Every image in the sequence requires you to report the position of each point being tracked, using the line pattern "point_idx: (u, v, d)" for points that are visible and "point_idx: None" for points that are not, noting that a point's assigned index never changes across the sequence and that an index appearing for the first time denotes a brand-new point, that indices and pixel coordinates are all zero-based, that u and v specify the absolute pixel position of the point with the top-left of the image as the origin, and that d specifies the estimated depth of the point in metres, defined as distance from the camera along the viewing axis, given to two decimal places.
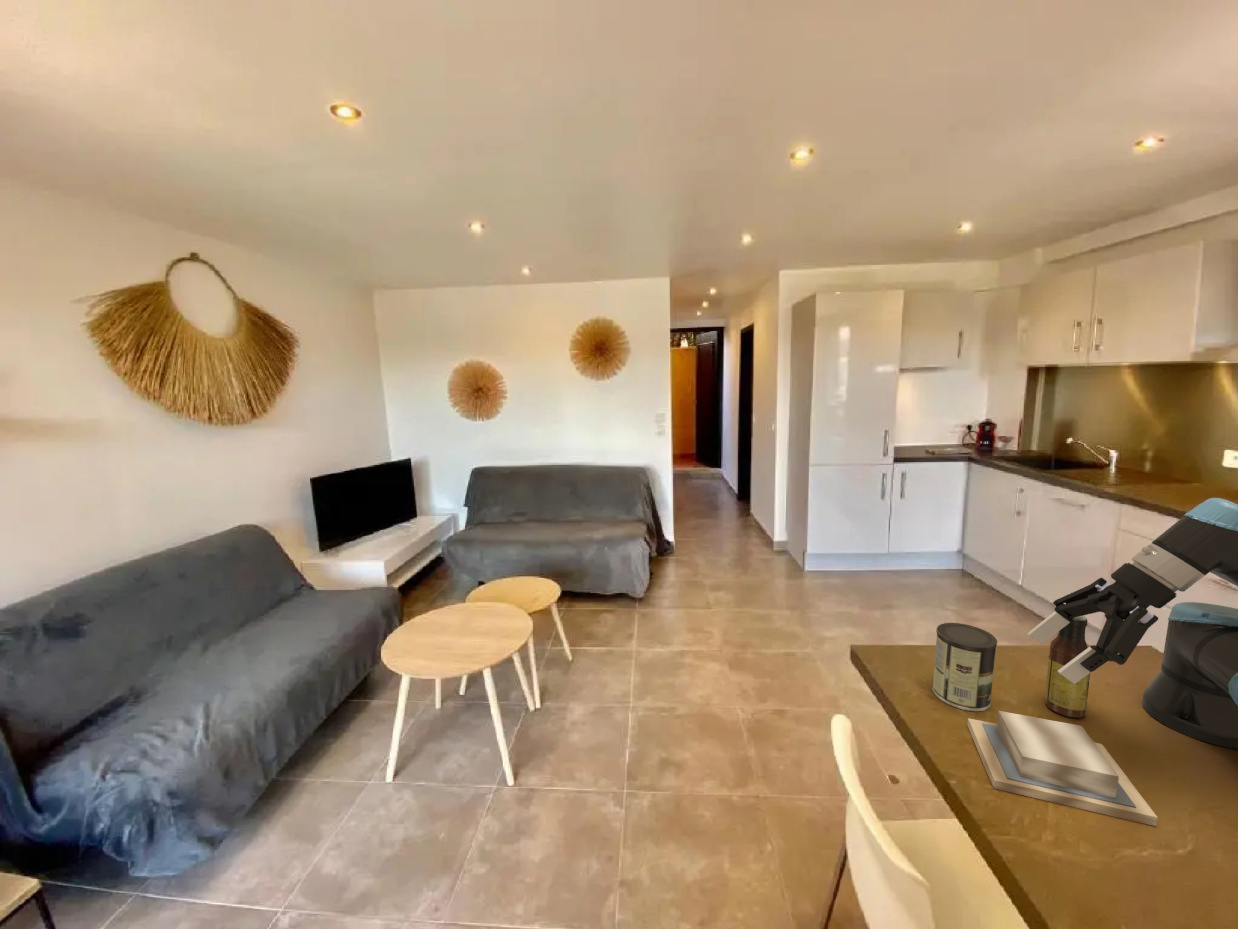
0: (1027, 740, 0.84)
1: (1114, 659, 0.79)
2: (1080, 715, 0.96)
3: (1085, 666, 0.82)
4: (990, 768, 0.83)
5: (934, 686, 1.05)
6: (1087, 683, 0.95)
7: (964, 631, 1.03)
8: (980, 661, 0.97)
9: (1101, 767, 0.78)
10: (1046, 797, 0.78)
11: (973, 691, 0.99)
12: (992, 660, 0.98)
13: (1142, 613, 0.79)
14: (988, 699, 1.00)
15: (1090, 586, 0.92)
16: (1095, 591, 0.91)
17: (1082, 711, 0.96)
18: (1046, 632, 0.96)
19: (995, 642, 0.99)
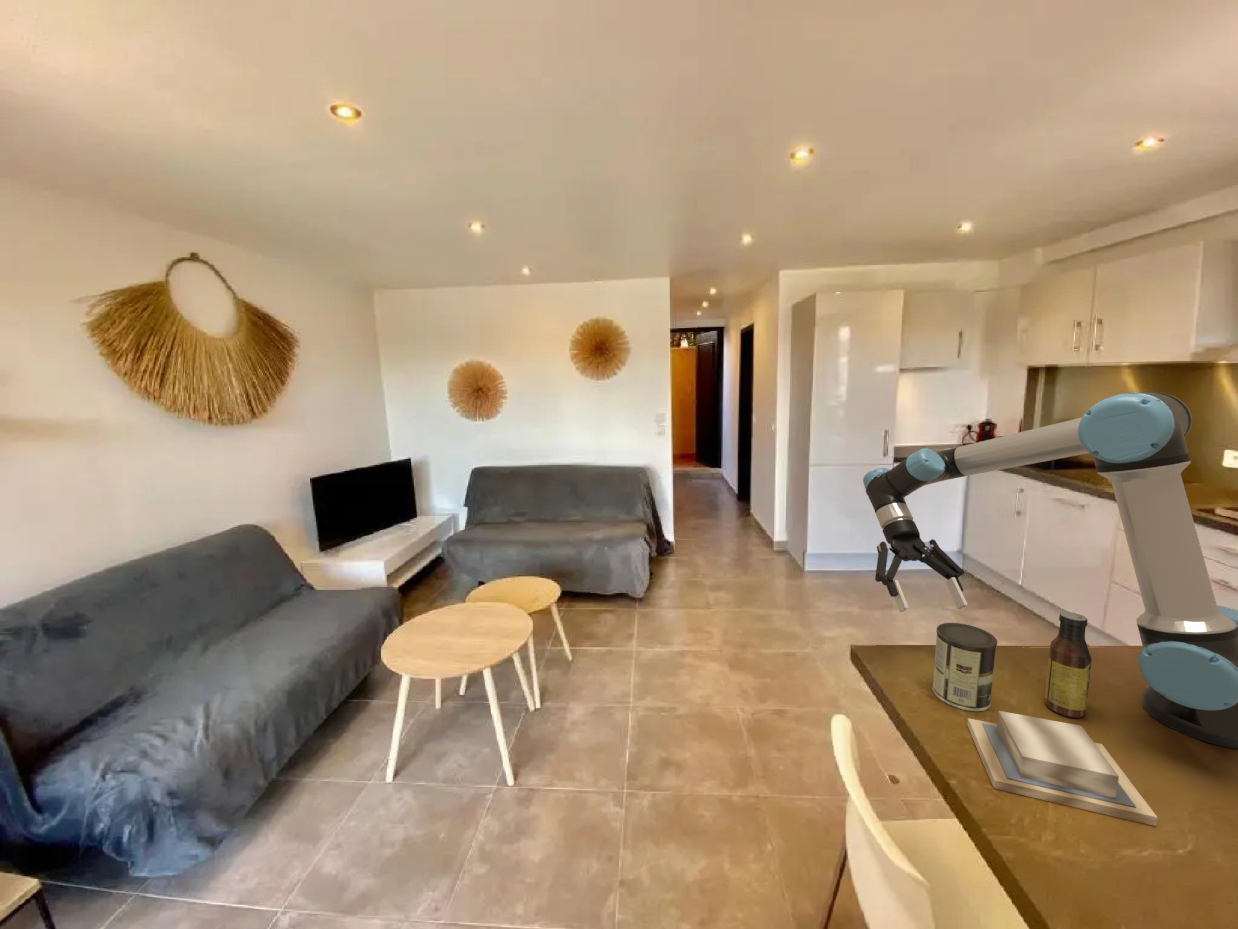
0: (1027, 740, 0.84)
1: (878, 578, 1.15)
2: (1080, 715, 0.96)
3: None
4: (990, 768, 0.83)
5: (934, 686, 1.05)
6: (1087, 683, 0.95)
7: (964, 631, 1.03)
8: (980, 661, 0.97)
9: (1101, 767, 0.78)
10: (1046, 797, 0.78)
11: (973, 691, 0.99)
12: (992, 660, 0.98)
13: (877, 548, 1.21)
14: (988, 699, 1.00)
15: None
16: (932, 552, 1.20)
17: (1082, 711, 0.96)
18: (956, 596, 1.13)
19: (995, 642, 0.99)
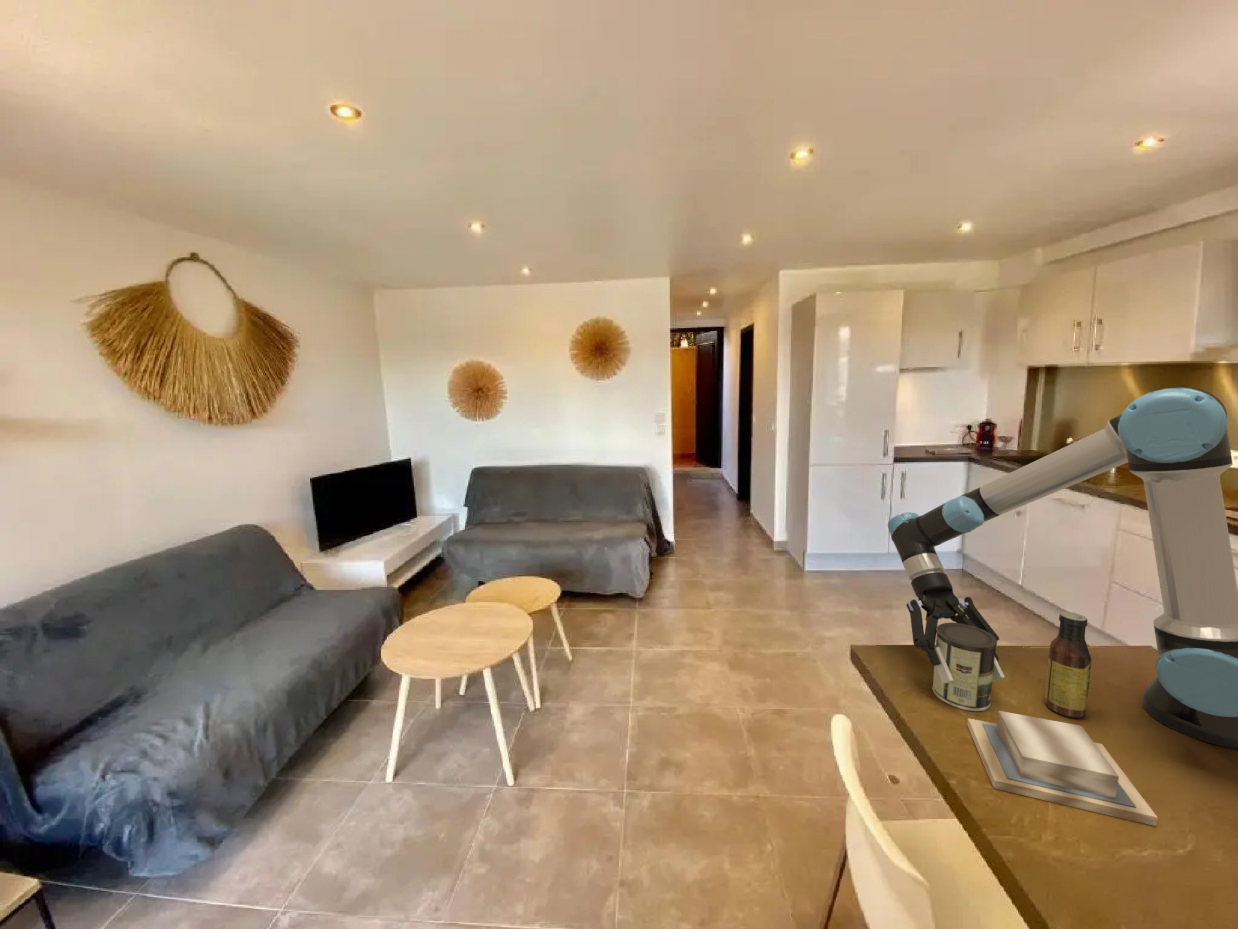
0: (1027, 740, 0.84)
1: (917, 645, 1.04)
2: (1080, 715, 0.96)
3: (932, 664, 1.03)
4: (990, 768, 0.83)
5: (934, 686, 1.05)
6: (1087, 683, 0.95)
7: (964, 631, 1.03)
8: (980, 661, 0.97)
9: (1101, 767, 0.78)
10: (1046, 797, 0.78)
11: (973, 691, 0.99)
12: (992, 660, 0.98)
13: (907, 607, 1.10)
14: (988, 699, 1.00)
15: None
16: (966, 610, 1.09)
17: (1082, 711, 0.96)
18: None
19: (995, 642, 0.98)
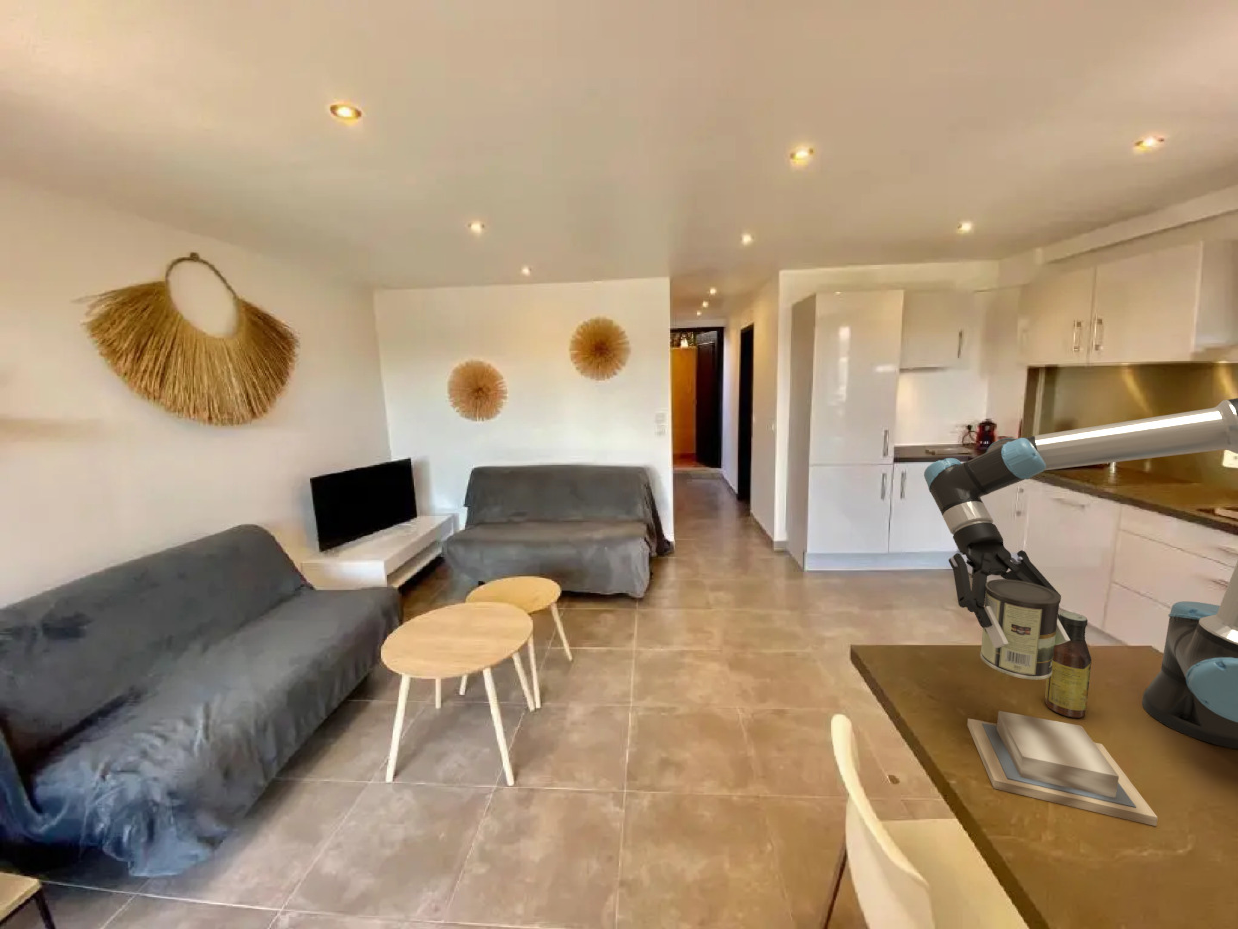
0: (1027, 740, 0.84)
1: (963, 604, 0.89)
2: (1080, 715, 0.96)
3: (981, 625, 0.88)
4: (990, 768, 0.83)
5: (983, 652, 0.90)
6: (1087, 683, 0.95)
7: (1019, 588, 0.88)
8: (1041, 620, 0.82)
9: (1101, 767, 0.78)
10: (1046, 797, 0.78)
11: (1032, 655, 0.84)
12: (1055, 619, 0.83)
13: (950, 562, 0.95)
14: (1050, 666, 0.84)
15: None
16: (1019, 566, 0.94)
17: (1082, 711, 0.96)
18: None
19: (1058, 598, 0.83)
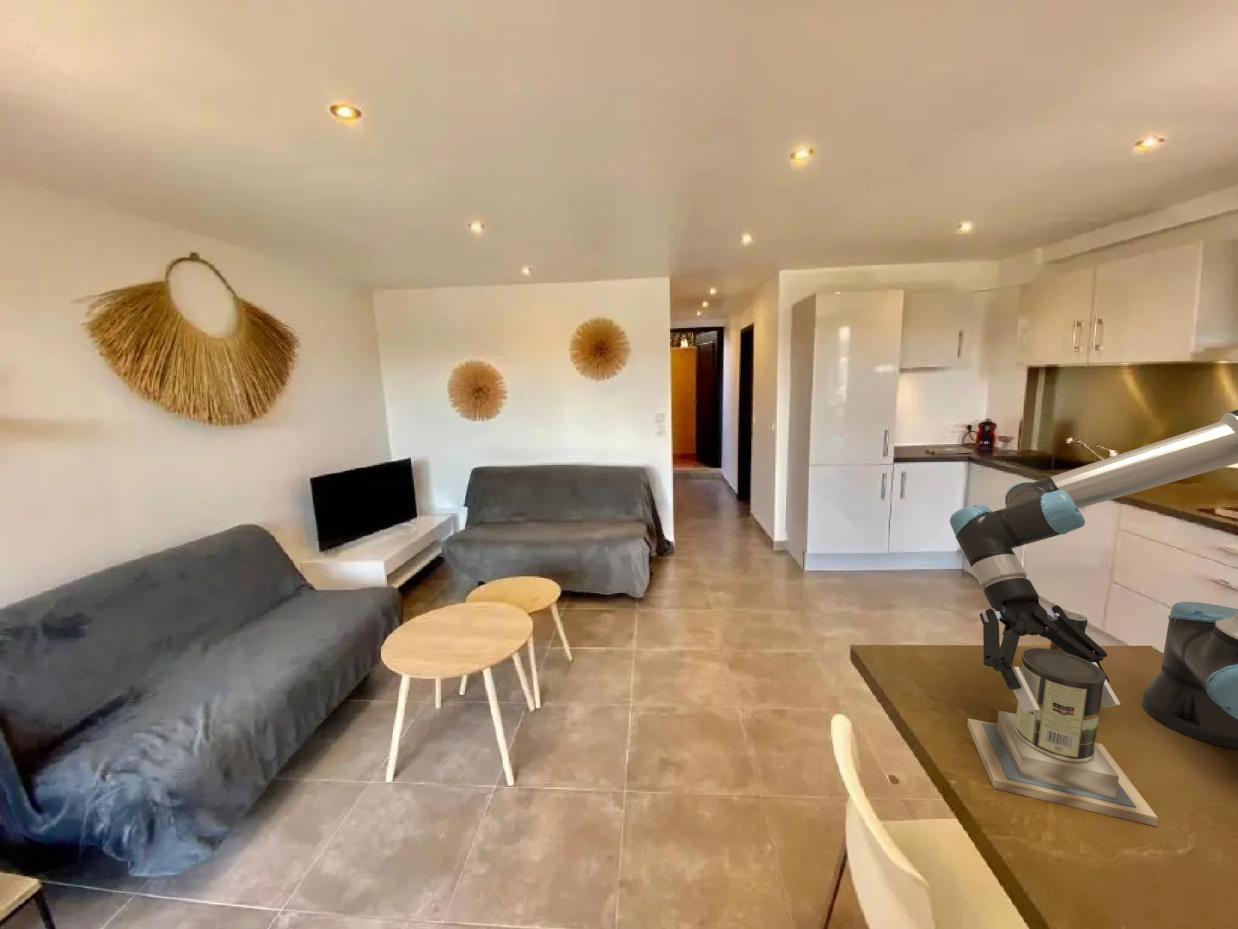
0: None
1: (989, 663, 0.84)
2: None
3: (1009, 687, 0.82)
4: (990, 768, 0.83)
5: (1018, 727, 0.85)
6: None
7: (1058, 660, 0.83)
8: (1085, 700, 0.77)
9: (1101, 767, 0.78)
10: (1046, 797, 0.78)
11: (1075, 737, 0.78)
12: (1100, 698, 0.78)
13: (981, 617, 0.89)
14: (1093, 747, 0.79)
15: None
16: (1056, 622, 0.89)
17: None
18: None
19: (1103, 676, 0.78)
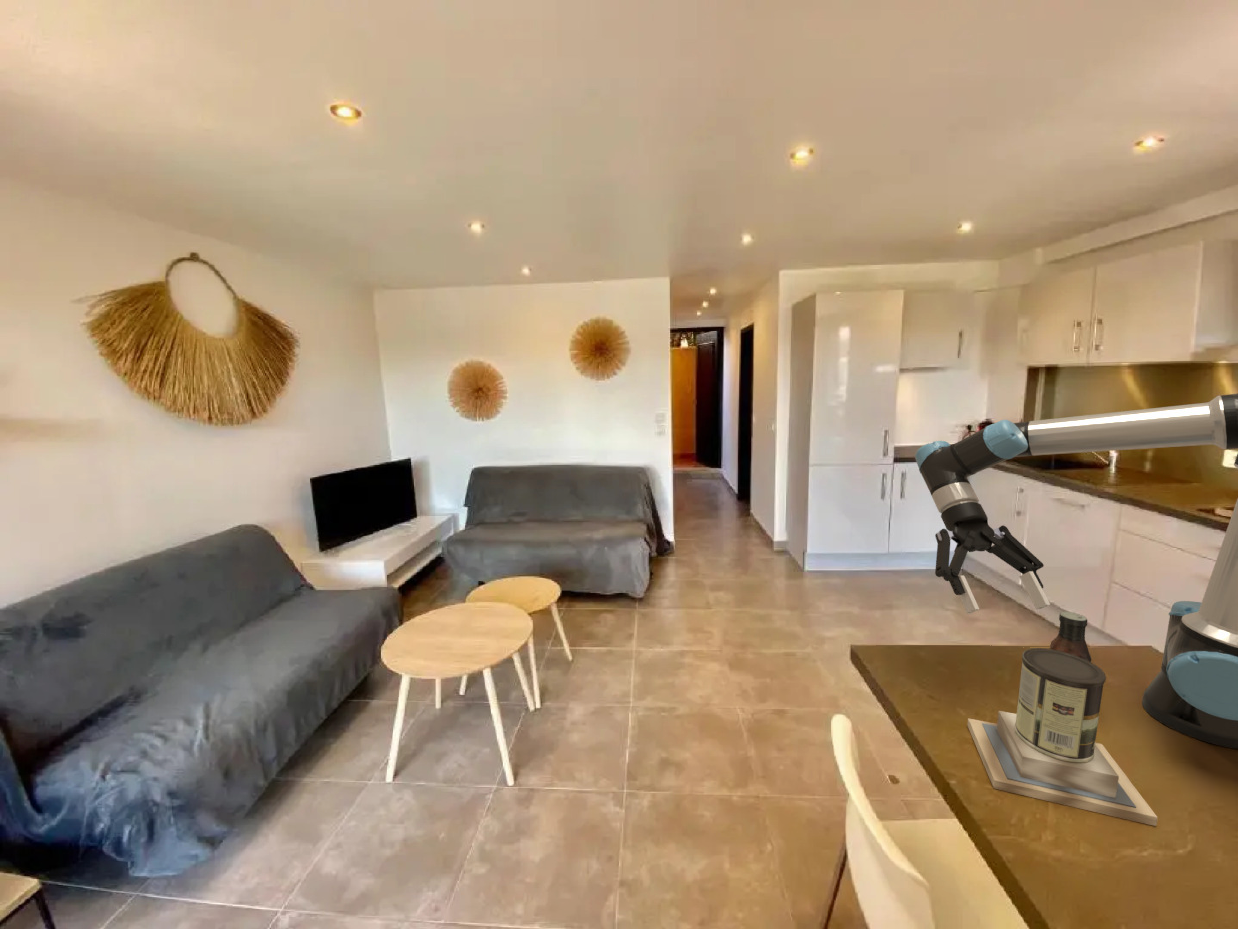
0: None
1: (940, 573, 0.96)
2: None
3: (955, 593, 0.95)
4: (990, 768, 0.83)
5: (1018, 727, 0.85)
6: None
7: (1058, 660, 0.83)
8: (1085, 700, 0.77)
9: (1101, 767, 0.78)
10: (1046, 797, 0.78)
11: (1075, 737, 0.78)
12: (1100, 699, 0.78)
13: (936, 536, 1.01)
14: (1093, 747, 0.79)
15: None
16: (1002, 540, 1.00)
17: None
18: (1035, 594, 0.94)
19: (1103, 676, 0.78)
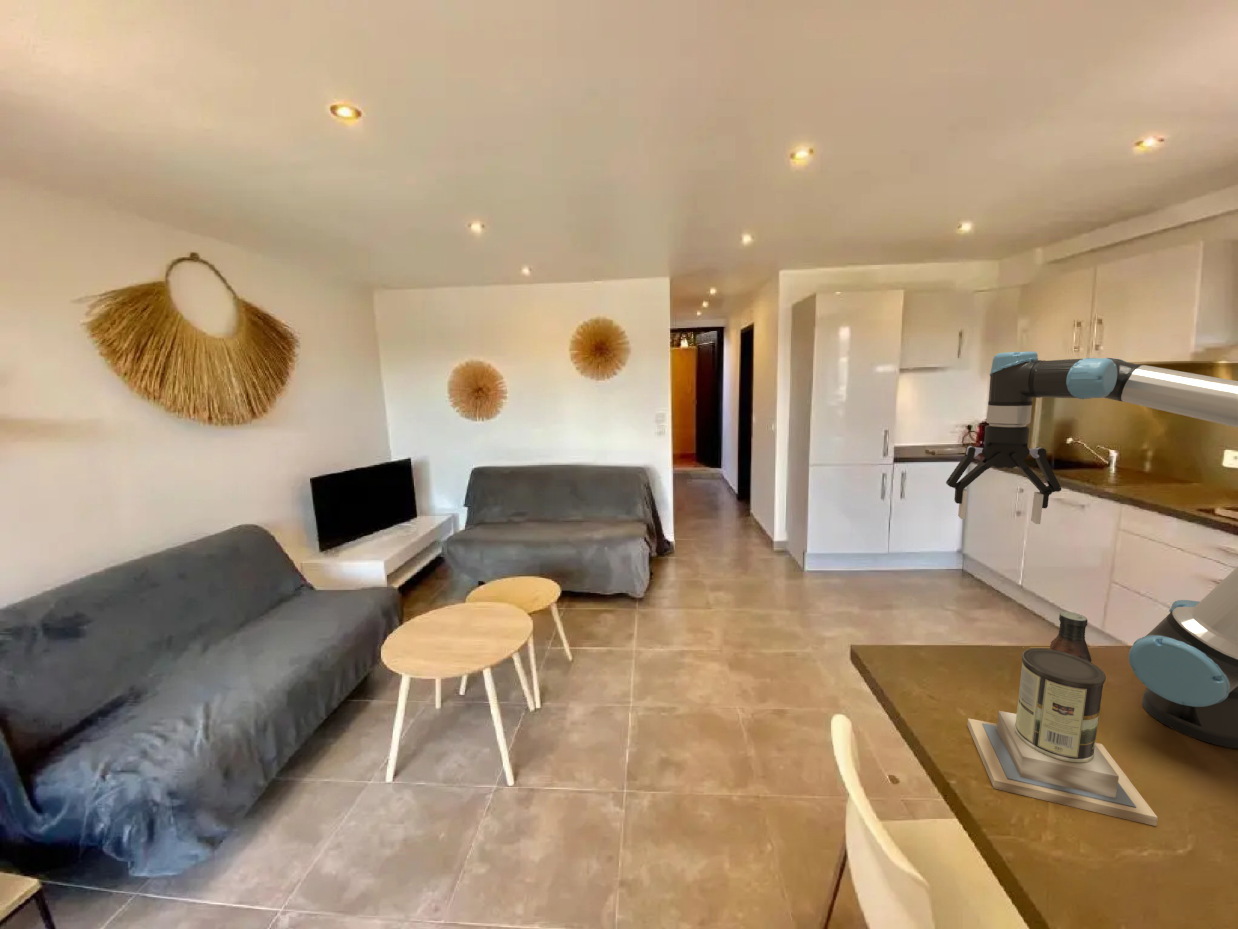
0: None
1: (947, 484, 1.12)
2: None
3: None
4: (990, 768, 0.83)
5: (1018, 727, 0.85)
6: None
7: (1058, 660, 0.83)
8: (1085, 700, 0.77)
9: (1101, 767, 0.78)
10: (1046, 797, 0.78)
11: (1074, 737, 0.78)
12: (1100, 699, 0.78)
13: (966, 449, 1.11)
14: (1093, 747, 0.79)
15: None
16: (1037, 459, 1.06)
17: None
18: (1035, 511, 1.07)
19: (1103, 676, 0.78)
